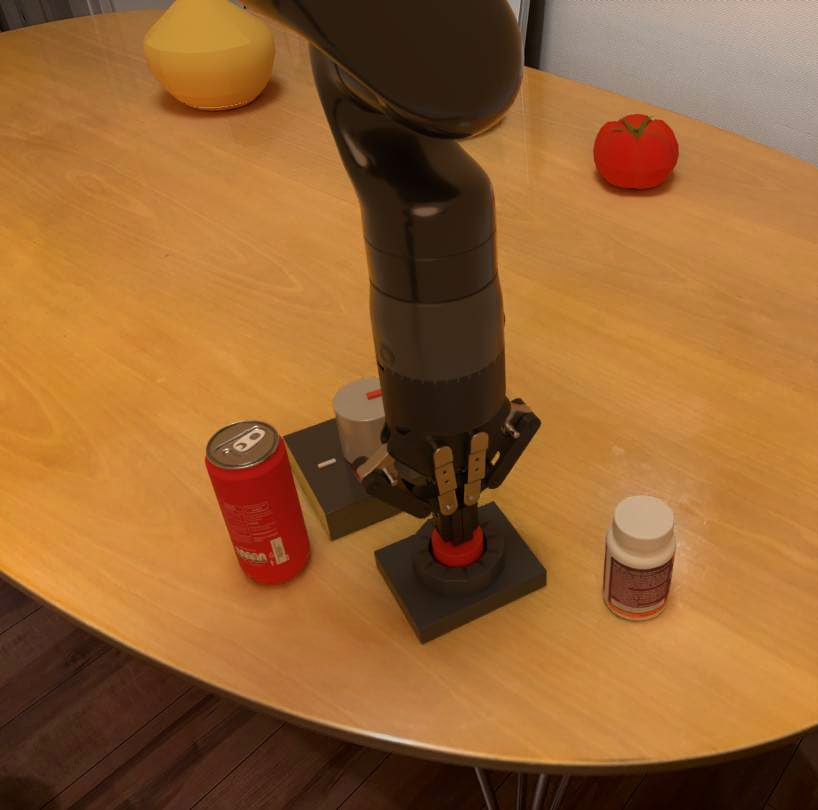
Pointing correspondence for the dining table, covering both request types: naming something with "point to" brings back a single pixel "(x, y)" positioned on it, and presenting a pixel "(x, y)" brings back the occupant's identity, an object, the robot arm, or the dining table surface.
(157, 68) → the vase
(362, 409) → the hob knob
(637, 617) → the pill bottle
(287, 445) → the panel
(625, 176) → the tomato
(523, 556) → the control block
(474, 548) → the button
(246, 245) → the dining table surface
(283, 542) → the beverage can
